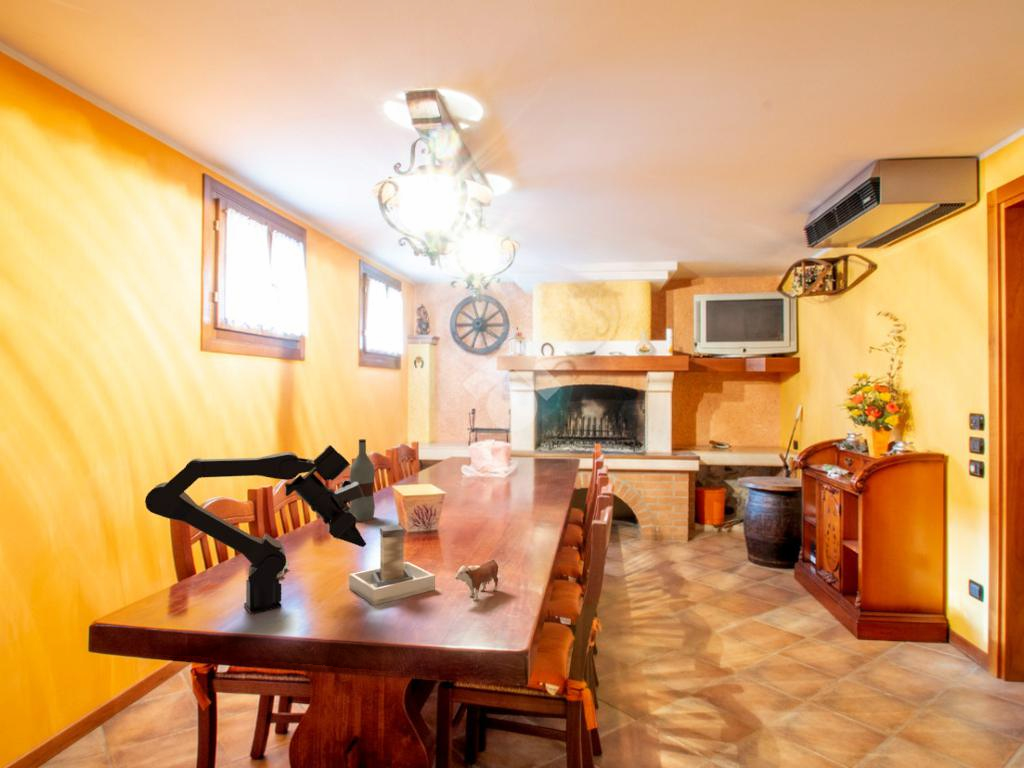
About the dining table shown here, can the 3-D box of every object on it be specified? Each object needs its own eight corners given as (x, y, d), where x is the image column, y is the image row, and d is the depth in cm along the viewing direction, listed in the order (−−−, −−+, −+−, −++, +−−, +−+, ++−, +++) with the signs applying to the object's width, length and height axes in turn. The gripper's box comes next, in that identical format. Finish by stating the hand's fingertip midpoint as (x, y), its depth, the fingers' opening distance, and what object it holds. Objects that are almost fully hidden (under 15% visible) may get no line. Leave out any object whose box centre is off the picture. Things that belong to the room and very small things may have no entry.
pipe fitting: (284, 569, 158) (259, 572, 153) (285, 554, 158) (260, 557, 153) (296, 576, 152) (270, 579, 147) (297, 561, 152) (271, 564, 147)
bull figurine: (451, 601, 132) (451, 566, 132) (491, 586, 142) (490, 553, 142) (465, 606, 129) (465, 570, 129) (504, 590, 139) (504, 556, 139)
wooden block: (383, 589, 137) (383, 531, 137) (379, 583, 141) (380, 526, 141) (404, 587, 138) (404, 529, 138) (400, 580, 143) (400, 524, 143)
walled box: (374, 605, 129) (374, 589, 129) (349, 588, 140) (349, 574, 140) (435, 589, 139) (435, 575, 139) (407, 575, 150) (407, 561, 150)
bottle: (368, 515, 222) (368, 437, 222) (379, 519, 215) (379, 439, 215) (345, 518, 216) (345, 439, 216) (355, 522, 209) (355, 441, 209)
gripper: (348, 476, 127) (394, 525, 131) (339, 465, 144) (380, 508, 148) (308, 513, 124) (357, 561, 128) (304, 497, 141) (347, 540, 145)
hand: (361, 540), depth 137 cm, fingers open, 9 cm apart
